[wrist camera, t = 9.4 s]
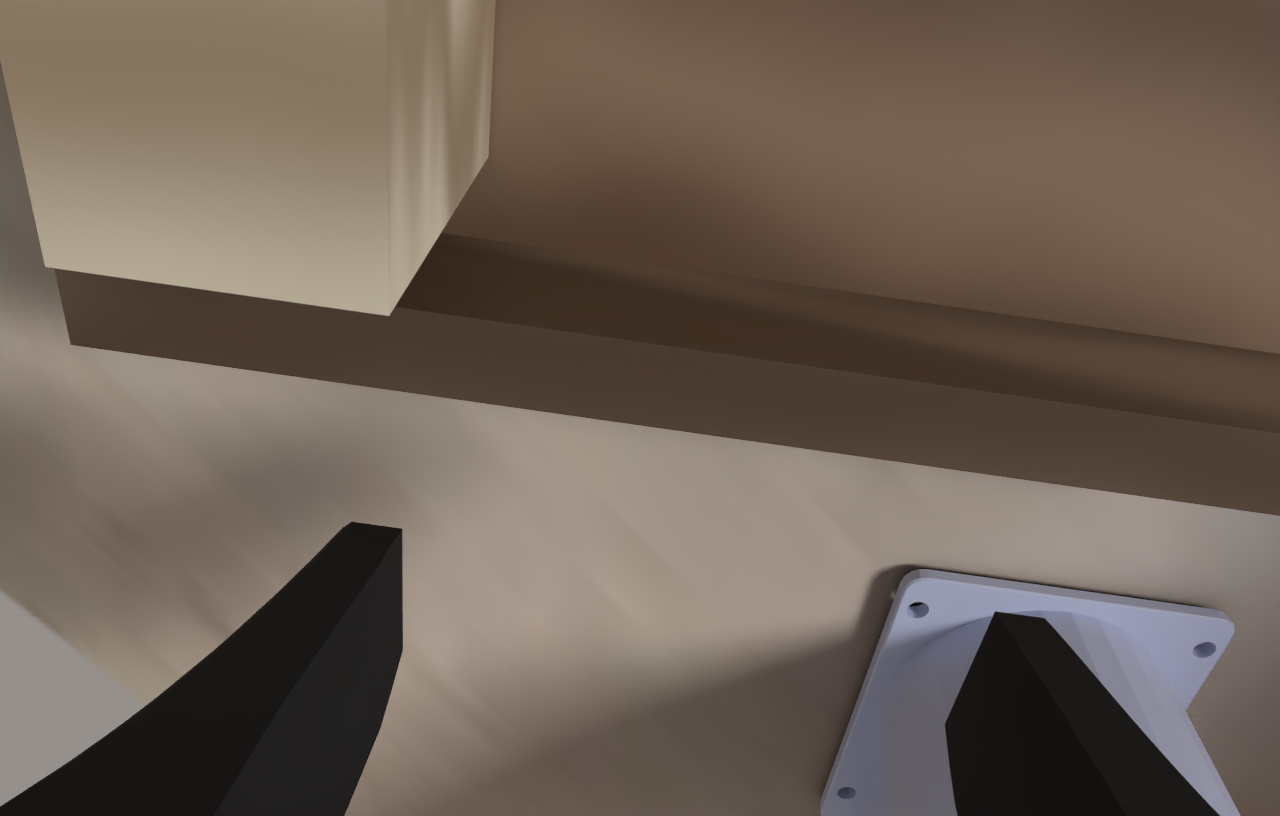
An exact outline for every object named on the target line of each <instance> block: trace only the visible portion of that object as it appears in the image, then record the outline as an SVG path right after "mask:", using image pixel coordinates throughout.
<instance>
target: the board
mask: <svg viewBox="0 0 1280 816" xmlns="http://www.w3.org/2000/svg"><path fill="white" fill-rule="evenodd" d="M55 272H56V277H57V281H58V286H59V291H60V295H61V300H62V305H63V309H64V314H65V319H66V324H67V328H68V333H69V338H70V342H71V345H77V346H84V347H91V348H98V349H105V350H112V351H119V352H126V353H133V354H140V355H147V356H154V357H162V358H169V359H176V360H183V361H190V362H197V363H204V364H211V365H218V366H225V367H232V368H239V369H246V370H253V371H261V372H268V373H275V374H282V375H289V376H296V377H303V378H310V379H317V380H324V381H331V382H338V383H345V384H352V385H359V386H367V387H374V388H381V389H388V390H395V391H402V392H409V393H416V394H423V395H430V396H437V397H444V398H451V399H458V400H466V401H473V402H480V403H487V404H494V405H501V406H508V407H515V408H522V409H529V410H536V411H543V412H550V413H557V414H565V415H572V416H579V417H586V418H593V419H600V420H607V421H614V422H621V423H628V424H635V425H642V426H649V427H656V428H664V429H671V430H678V431H685V432H692V433H699V434H706V435H713V436H720V437H727V438H734V439H741V440H748V441H755V442H763V443H770V444H777V445H784V446H791V447H798V448H805V449H812V450H819V451H826V452H833V453H840V454H847V455H854V456H861V457H869V458H876V459H883V460H890V461H897V462H904V463H911V464H918V465H925V466H932V467H939V468H946V469H953V470H960V471H968V472H975V473H982V474H989V475H996V476H1003V477H1010V478H1017V479H1024V480H1031V481H1038V482H1045V483H1052V484H1059V485H1067V486H1074V487H1081V488H1088V489H1095V490H1102V491H1109V492H1116V493H1123V494H1130V495H1137V496H1144V497H1151V498H1158V499H1166V500H1173V501H1180V502H1187V503H1194V504H1201V505H1208V506H1215V507H1222V508H1229V509H1236V510H1243V511H1250V512H1257V513H1265V514H1272V515H1279V516H1280V0H496V3H495V25H494V47H493V69H492V91H491V113H490V134H489V156H488V158H487V160H486V162H485V163H484V165H483V166H482V168H481V170H480V171H479V173H478V174H477V176H476V178H475V179H474V181H473V182H472V184H471V186H470V187H469V189H468V190H467V192H466V194H465V195H464V197H463V198H462V200H461V202H460V203H459V205H458V206H457V208H456V210H455V211H454V213H453V214H452V216H451V218H450V219H449V221H448V222H447V224H446V226H445V227H444V229H443V230H442V232H441V234H440V235H439V237H438V238H437V240H436V242H435V243H434V245H433V246H432V248H431V250H430V251H429V253H428V255H427V256H426V258H425V259H424V261H423V263H422V264H421V266H420V267H419V269H418V271H417V272H416V274H415V275H414V277H413V279H412V280H411V282H410V283H409V285H408V287H407V288H406V290H405V291H404V293H403V295H402V296H401V298H400V299H399V301H398V303H397V304H396V306H395V307H394V309H393V311H392V312H391V314H390V315H389V316H385V315H378V314H371V313H364V312H357V311H350V310H343V309H336V308H329V307H322V306H315V305H308V304H301V303H294V302H287V301H280V300H273V299H266V298H259V297H252V296H245V295H238V294H231V293H224V292H217V291H210V290H203V289H196V288H189V287H182V286H175V285H168V284H161V283H154V282H147V281H140V280H133V279H126V278H119V277H112V276H105V275H98V274H91V273H84V272H77V271H70V270H63V269H56V268H55Z"/></svg>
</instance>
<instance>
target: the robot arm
mask: <svg viewBox="0 0 1280 816" xmlns="http://www.w3.org/2000/svg"><path fill="white" fill-rule="evenodd" d="M915 602H922V603H923V604H921V605H919V606H915V607H911V606H909V605H910V604H912V603H915ZM1234 633H1235V627H1234V624H1233V623H1232V621H1231V620H1230V618H1229V616H1228V615H1227V614H1225V613H1224V612H1223V611H1219V610H1216V609H1209V608H1202V607H1195V606H1187V605H1180V604H1173V603H1166V602H1159V601H1152V600H1144V599H1137V598H1130V597H1123V596H1116V595H1109V594H1101V593H1094V592H1087V591H1080V590H1073V589H1066V588H1058V587H1051V586H1044V585H1037V584H1030V583H1023V582H1015V581H1008V580H1001V579H994V578H987V577H980V576H972V575H965V574H958V573H951V572H944V571H937V570H929V569H918V570H914V571H911V572H909V573H908V574H907V575H905V576H904V577H903V579H902V580H901V582H900V584H899V587H898V590H897V592H896V595H895V598H894V601H893V603H892V606H891V609H890V612H889V614H888V617H887V620H886V623H885V625H884V628H883V631H882V633H881V636H880V639H879V642H878V644H877V647H876V650H875V653H874V655H873V658H872V661H871V663H870V666H869V669H868V672H867V674H866V677H865V680H864V683H863V685H862V688H861V691H860V694H859V696H858V699H857V702H856V704H855V707H854V710H853V713H852V715H851V718H850V721H849V724H848V726H847V729H846V732H845V734H844V737H843V740H842V743H841V745H840V748H839V751H838V754H837V756H836V759H835V762H834V765H833V767H832V770H831V773H830V775H829V778H828V781H827V784H826V786H825V789H824V792H823V795H822V797H821V800H820V815H821V816H1240V814H1239V812H1238V810H1237V808H1236V806H1235V804H1234V802H1233V800H1232V799H1231V797H1230V795H1229V793H1228V791H1227V789H1226V787H1225V785H1224V783H1223V781H1222V779H1221V778H1220V776H1219V774H1218V772H1217V770H1216V768H1215V766H1214V764H1213V762H1212V760H1211V759H1210V757H1209V755H1208V753H1207V751H1206V749H1205V747H1204V745H1203V743H1202V741H1201V740H1200V738H1199V736H1198V734H1197V732H1196V730H1195V728H1194V726H1193V724H1192V722H1191V721H1190V719H1189V717H1188V715H1187V713H1186V710H1187V708H1188V707H1189V705H1190V703H1191V702H1192V700H1193V699H1194V697H1195V696H1196V694H1197V692H1198V691H1199V689H1200V688H1201V686H1202V685H1203V683H1204V681H1205V680H1206V678H1207V677H1208V675H1209V674H1210V672H1211V671H1212V669H1213V667H1214V666H1215V664H1216V663H1217V661H1218V660H1219V658H1220V656H1221V655H1222V653H1223V652H1224V650H1225V649H1226V647H1227V646H1228V644H1229V642H1230V641H1231V639H1232V638H1233V636H1234ZM1203 642H1205V643H1203ZM1200 643H1203V644H1201V645H1198V644H1200ZM402 651H403V614H402V529H399V528H392V527H385V526H378V525H371V524H363V523H356V522H351V523H349V524H348V525H346V526H345V527H343V528H342V529H341V530H340V531H339V532H338V533H337V534H336V535H335V536H334V537H333V538H332V539H331V540H330V541H329V542H328V543H327V544H326V545H325V546H324V547H323V549H322V550H321V551H320V552H319V553H318V554H317V555H316V556H315V557H314V558H313V559H312V560H311V561H310V562H309V563H308V564H307V565H306V566H305V567H304V568H303V569H302V570H301V571H300V572H299V573H297V574H296V575H295V576H294V577H293V578H292V579H291V580H290V581H289V582H288V583H287V584H286V585H285V586H284V587H283V588H282V589H281V590H280V591H279V592H278V593H277V594H276V595H275V596H274V597H273V598H272V599H270V600H269V601H268V602H267V603H266V604H265V605H264V606H263V607H262V608H261V609H259V610H258V611H257V612H256V613H255V614H254V615H253V616H252V617H251V618H250V619H248V620H247V621H246V622H245V623H244V624H243V625H242V626H241V627H240V628H239V629H237V630H236V631H235V632H234V633H233V634H232V635H231V636H230V637H229V638H228V639H226V640H225V641H224V642H223V643H222V644H221V645H220V646H218V647H217V648H216V649H215V650H214V651H213V652H211V653H210V654H209V655H208V656H207V657H205V658H204V659H203V660H202V661H200V662H199V663H198V664H197V665H196V666H194V667H193V668H192V669H191V670H190V671H188V672H187V673H186V674H185V675H184V676H182V677H181V678H180V679H179V680H177V681H176V682H175V683H174V684H173V685H171V686H170V687H169V688H168V689H167V690H165V691H164V692H163V693H162V694H160V695H159V696H158V697H157V698H155V699H154V700H153V701H152V702H150V703H149V704H148V705H146V706H145V707H144V708H142V709H141V710H140V711H139V712H137V713H136V714H135V715H133V716H132V717H131V718H129V719H128V720H127V721H125V722H124V723H123V724H121V725H120V726H119V727H117V728H116V729H115V730H113V731H112V732H110V733H109V734H108V735H106V736H105V737H103V738H102V739H101V740H99V741H98V742H96V743H95V744H94V745H92V746H91V747H89V748H88V749H86V750H85V751H84V752H82V753H81V754H79V755H78V756H77V757H75V758H74V759H72V760H71V761H69V762H68V763H66V764H65V765H63V766H62V767H60V768H59V769H57V770H56V771H55V772H53V773H51V774H50V775H48V776H47V777H45V778H44V779H42V780H40V781H39V782H37V783H36V784H34V785H33V786H31V787H30V788H28V789H27V790H25V791H24V792H22V793H21V794H19V795H17V796H16V797H14V798H13V799H11V800H10V801H8V802H7V803H5V804H4V805H2V806H0V816H344V815H345V812H346V810H347V808H348V805H349V803H350V800H351V798H352V796H353V793H354V791H355V788H356V786H357V784H358V781H359V779H360V776H361V774H362V771H363V769H364V767H365V764H366V762H367V759H368V757H369V755H370V752H371V750H372V747H373V745H374V742H375V740H376V737H377V735H378V732H379V730H380V727H381V724H382V721H383V717H384V714H385V710H386V707H387V704H388V700H389V697H390V694H391V690H392V686H393V683H394V679H395V676H396V672H397V668H398V665H399V661H400V658H401V654H402Z"/></svg>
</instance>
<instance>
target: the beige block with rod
mask: <svg viewBox="0 0 1280 816" xmlns="http://www.w3.org/2000/svg"><path fill="white" fill-rule="evenodd" d="M495 3H496V0H0V63H1V67H2V72H3V76H4V81H5V85H6V90H7V95H8V99H9V104H10V108H11V113H12V118H13V122H14V127H15V131H16V136H17V140H18V145H19V150H20V154H21V159H22V163H23V168H24V173H25V177H26V182H27V186H28V191H29V195H30V200H31V205H32V209H33V214H34V218H35V223H36V228H37V232H38V237H39V241H40V246H41V250H42V255H43V260H44V264H45V267H49V268H56V269H63V270H70V271H77V272H84V273H91V274H98V275H105V276H112V277H119V278H126V279H133V280H140V281H147V282H154V283H161V284H168V285H175V286H182V287H189V288H196V289H203V290H210V291H217V292H224V293H231V294H238V295H245V296H252V297H259V298H266V299H273V300H280V301H287V302H294V303H301V304H308V305H315V306H322V307H329V308H336V309H343V310H350V311H357V312H364V313H371V314H378V315H385V316H389V315H390V314H391V312H392V311H393V309H394V307H395V306H396V304H397V303H398V301H399V299H400V298H401V296H402V295H403V293H404V291H405V290H406V288H407V287H408V285H409V283H410V282H411V280H412V279H413V277H414V275H415V274H416V272H417V271H418V269H419V267H420V266H421V264H422V263H423V261H424V259H425V258H426V256H427V255H428V253H429V251H430V250H431V248H432V246H433V245H434V243H435V242H436V240H437V238H438V237H439V235H440V234H441V232H442V230H443V229H444V227H445V226H446V224H447V222H448V221H449V219H450V218H451V216H452V214H453V213H454V211H455V210H456V208H457V206H458V205H459V203H460V202H461V200H462V198H463V197H464V195H465V194H466V192H467V190H468V189H469V187H470V186H471V184H472V182H473V181H474V179H475V178H476V176H477V174H478V173H479V171H480V170H481V168H482V166H483V165H484V163H485V162H486V160H487V158H488V156H489V134H490V113H491V91H492V69H493V47H494V25H495Z"/></svg>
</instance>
